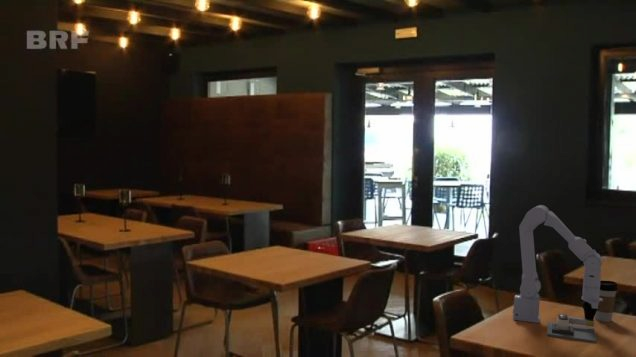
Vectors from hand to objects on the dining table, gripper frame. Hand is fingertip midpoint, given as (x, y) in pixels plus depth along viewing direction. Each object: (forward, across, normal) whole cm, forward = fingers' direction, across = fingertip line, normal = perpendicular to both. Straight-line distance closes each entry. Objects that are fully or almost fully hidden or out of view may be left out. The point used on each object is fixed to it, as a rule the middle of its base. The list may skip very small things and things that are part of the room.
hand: (588, 322), depth 225 cm
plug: (+3, -7, +10) cm, 13 cm away
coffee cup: (+3, +16, -9) cm, 18 cm away
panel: (+3, -6, +7) cm, 10 cm away
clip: (0, -1, +5) cm, 5 cm away
